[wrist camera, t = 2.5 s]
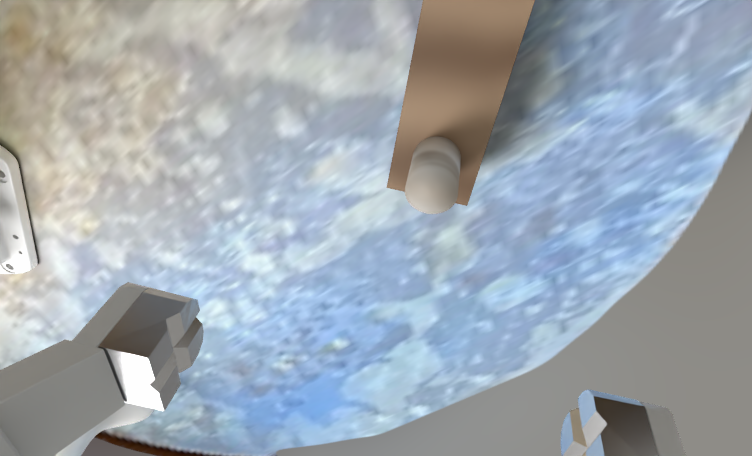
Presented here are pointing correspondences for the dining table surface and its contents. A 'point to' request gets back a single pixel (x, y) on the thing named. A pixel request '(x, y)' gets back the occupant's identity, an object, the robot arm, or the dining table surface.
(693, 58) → the dining table surface
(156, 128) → the dining table surface
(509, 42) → the twin candle holder
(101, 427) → the flower in vase
